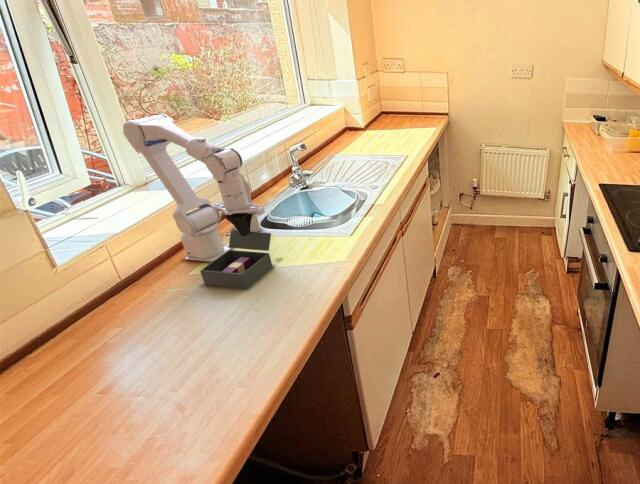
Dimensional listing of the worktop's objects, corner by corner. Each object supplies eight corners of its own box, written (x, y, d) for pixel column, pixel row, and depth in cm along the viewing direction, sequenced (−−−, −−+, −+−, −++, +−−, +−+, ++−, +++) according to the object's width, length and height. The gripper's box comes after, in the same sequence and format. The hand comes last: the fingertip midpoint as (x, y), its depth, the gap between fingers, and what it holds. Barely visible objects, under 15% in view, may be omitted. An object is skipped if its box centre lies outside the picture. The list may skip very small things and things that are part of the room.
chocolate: (223, 283, 112) (219, 272, 111) (243, 267, 119) (240, 256, 118) (233, 284, 112) (229, 273, 110) (253, 267, 119) (250, 257, 118)
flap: (230, 230, 120) (232, 230, 120) (228, 247, 119) (229, 247, 120) (270, 233, 118) (271, 233, 119) (268, 250, 118) (268, 250, 118)
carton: (205, 285, 112) (199, 270, 110) (233, 263, 122) (229, 249, 120) (247, 288, 111) (242, 274, 109) (272, 266, 120) (269, 252, 118)
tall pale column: (229, 231, 139) (211, 172, 130) (238, 225, 143) (221, 168, 134) (257, 233, 138) (240, 174, 129) (265, 227, 142) (249, 170, 133)
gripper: (198, 196, 109) (212, 239, 115) (246, 200, 107) (259, 243, 113) (218, 186, 115) (231, 227, 121) (264, 189, 114) (275, 231, 119)
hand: (245, 234), depth 117 cm, fingers closed
